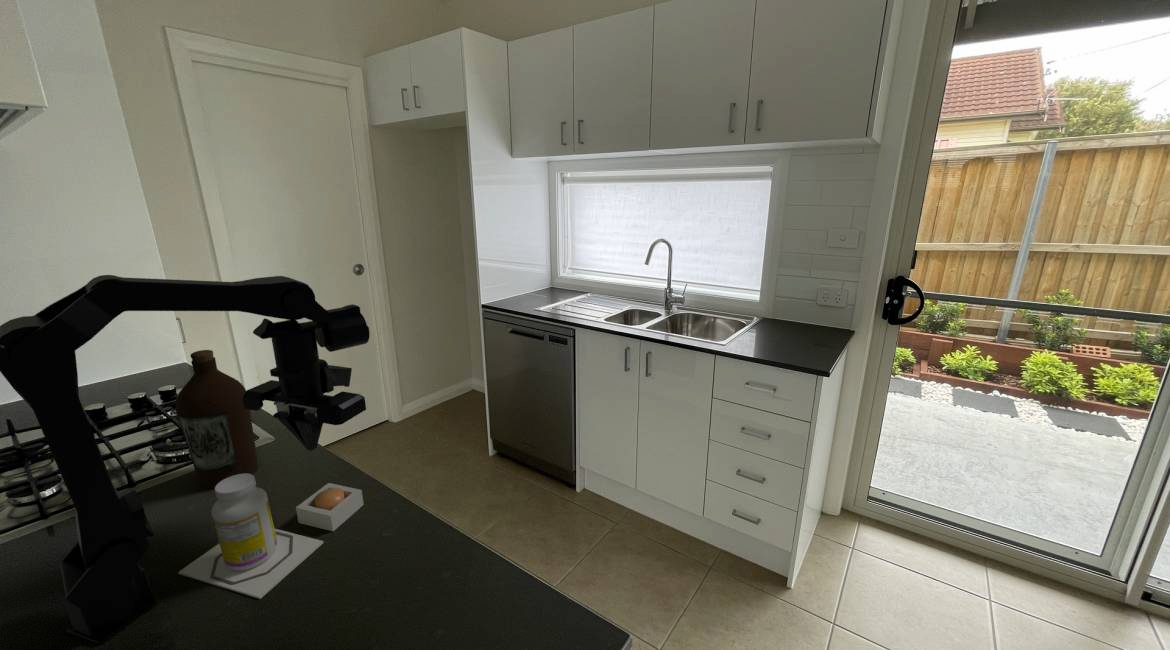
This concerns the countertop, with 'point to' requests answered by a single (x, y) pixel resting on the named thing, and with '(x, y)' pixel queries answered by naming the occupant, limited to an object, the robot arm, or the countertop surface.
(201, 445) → the olive oil
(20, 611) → the countertop surface
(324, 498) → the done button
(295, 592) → the countertop surface
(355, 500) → the button housing
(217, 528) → the supplement bottle
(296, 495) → the countertop surface
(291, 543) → the paper sheet
